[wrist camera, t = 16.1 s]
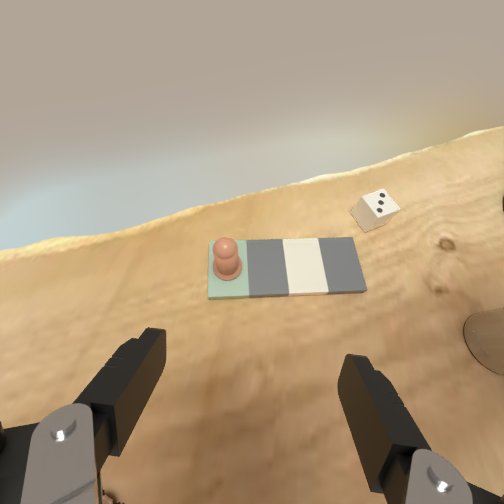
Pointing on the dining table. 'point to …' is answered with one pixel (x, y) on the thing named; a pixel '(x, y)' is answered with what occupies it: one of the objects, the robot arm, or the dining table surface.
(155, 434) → the dining table surface
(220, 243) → the pawn
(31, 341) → the dining table surface
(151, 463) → the dining table surface
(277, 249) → the board
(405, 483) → the robot arm
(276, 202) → the dining table surface
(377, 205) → the die
